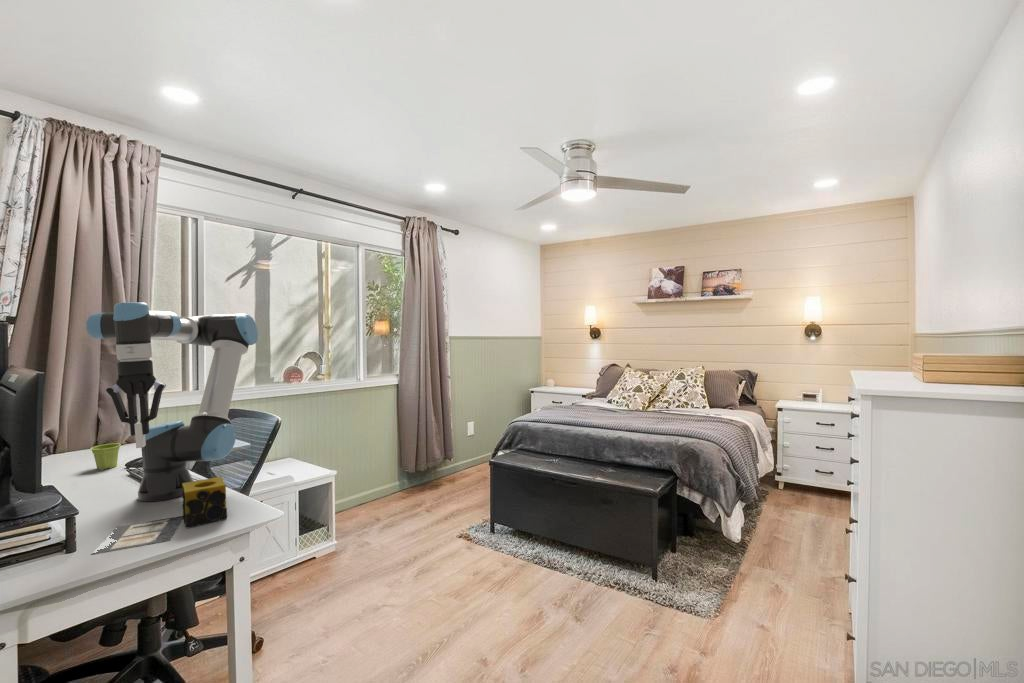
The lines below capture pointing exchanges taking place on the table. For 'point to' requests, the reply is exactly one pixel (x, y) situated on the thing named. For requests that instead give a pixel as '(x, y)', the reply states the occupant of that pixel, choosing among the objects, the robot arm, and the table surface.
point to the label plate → (143, 533)
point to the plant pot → (106, 455)
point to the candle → (204, 501)
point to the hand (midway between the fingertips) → (141, 446)
